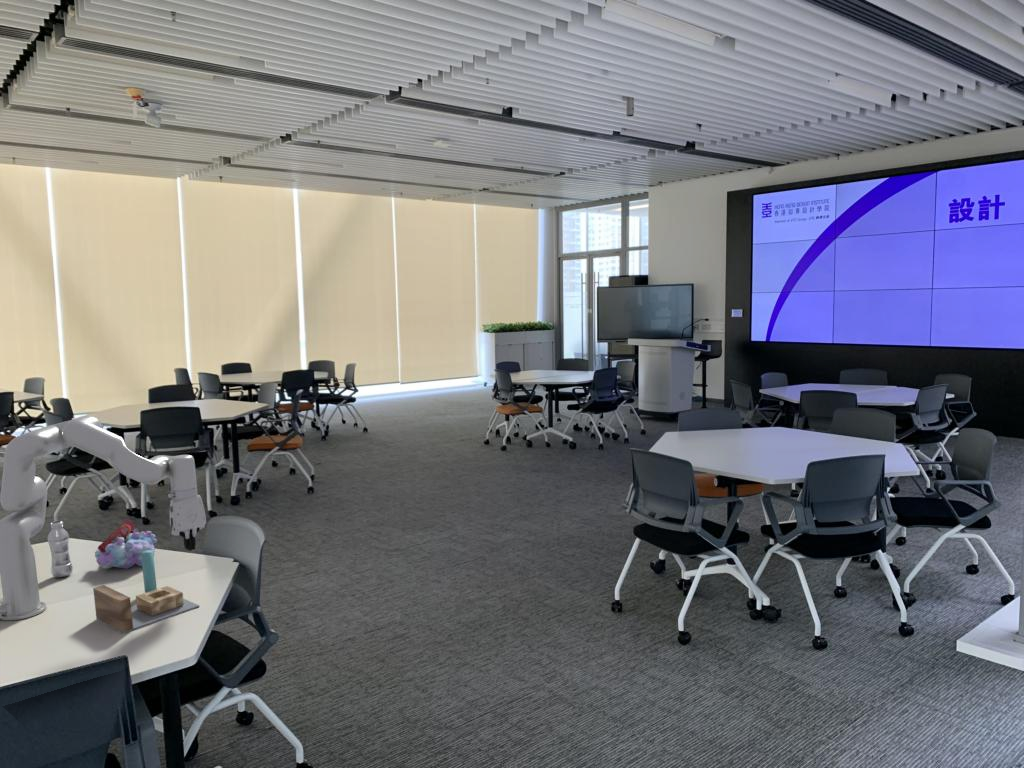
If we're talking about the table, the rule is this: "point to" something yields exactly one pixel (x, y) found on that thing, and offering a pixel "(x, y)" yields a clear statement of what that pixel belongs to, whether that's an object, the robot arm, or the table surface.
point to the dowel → (148, 570)
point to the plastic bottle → (59, 550)
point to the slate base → (146, 619)
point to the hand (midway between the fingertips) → (190, 549)
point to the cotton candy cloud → (124, 547)
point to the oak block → (159, 600)
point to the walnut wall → (113, 608)
